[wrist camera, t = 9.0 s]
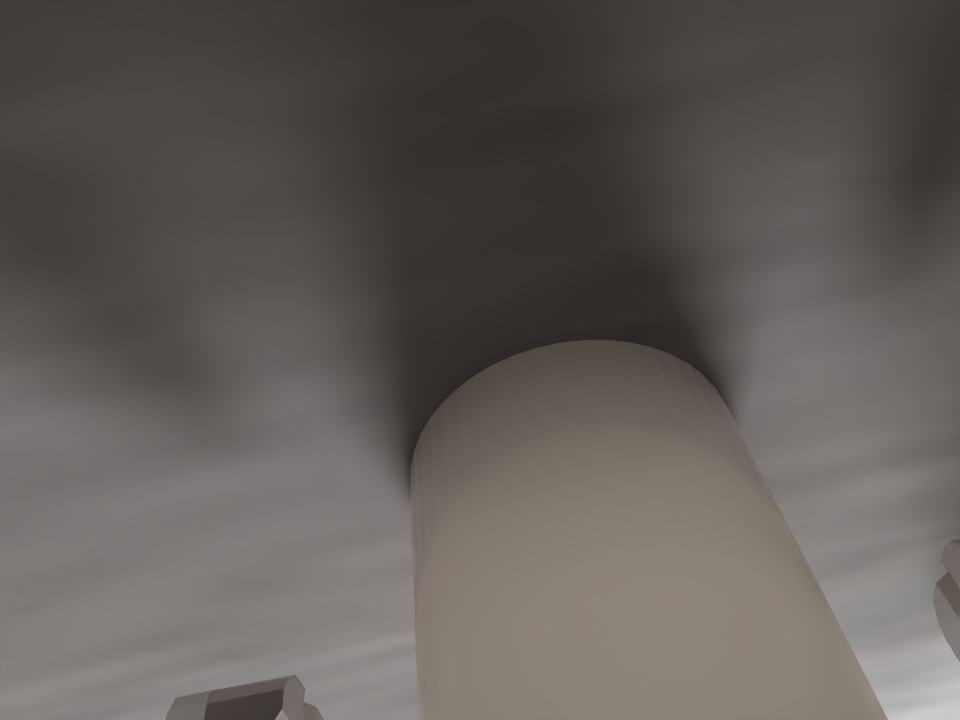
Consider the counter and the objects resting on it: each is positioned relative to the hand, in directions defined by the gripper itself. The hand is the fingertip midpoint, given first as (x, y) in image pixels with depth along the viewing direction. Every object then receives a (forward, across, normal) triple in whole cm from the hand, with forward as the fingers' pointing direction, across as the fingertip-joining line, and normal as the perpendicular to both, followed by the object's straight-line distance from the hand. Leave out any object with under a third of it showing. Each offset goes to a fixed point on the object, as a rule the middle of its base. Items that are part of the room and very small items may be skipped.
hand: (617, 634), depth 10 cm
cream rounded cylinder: (+3, 0, 0) cm, 3 cm away
